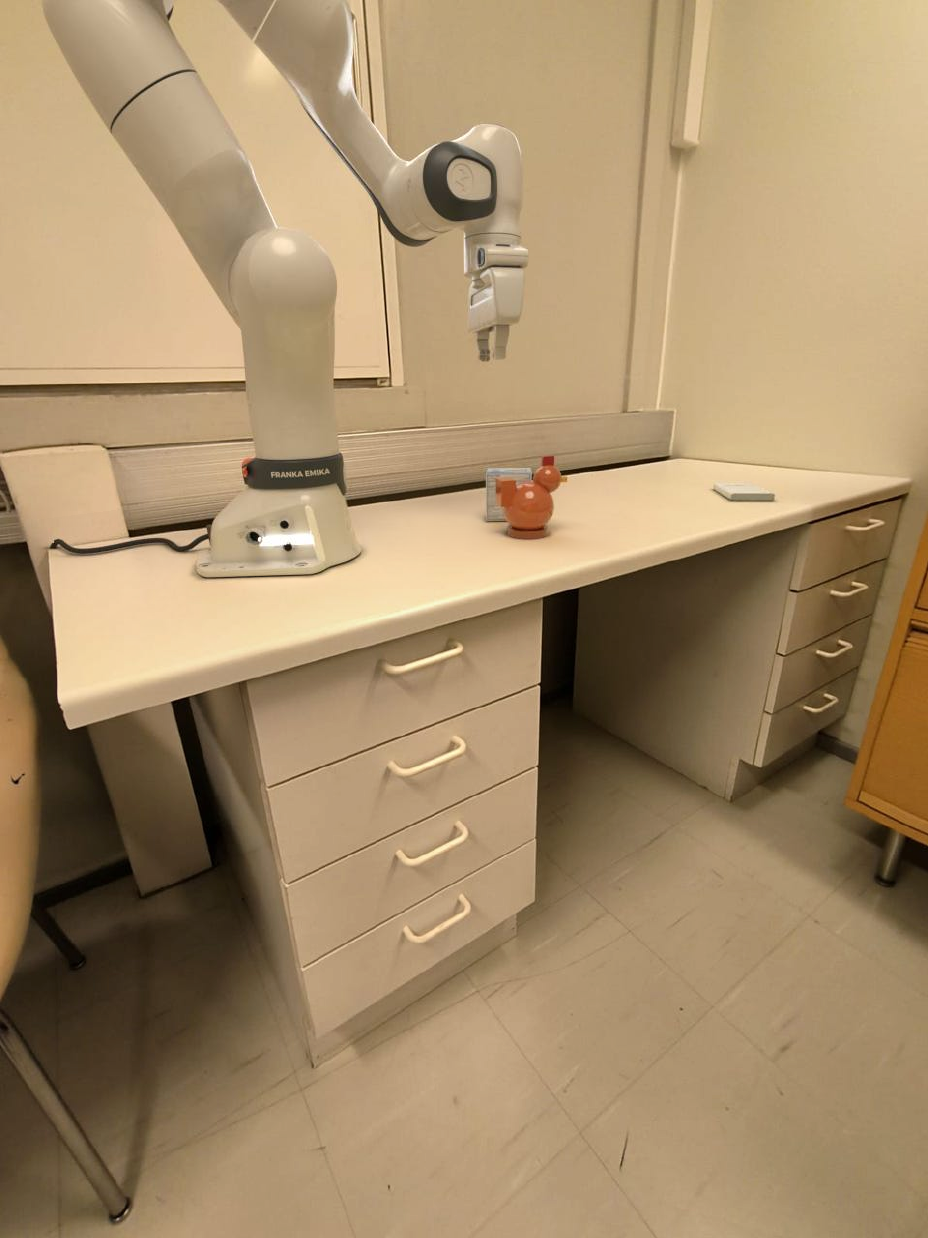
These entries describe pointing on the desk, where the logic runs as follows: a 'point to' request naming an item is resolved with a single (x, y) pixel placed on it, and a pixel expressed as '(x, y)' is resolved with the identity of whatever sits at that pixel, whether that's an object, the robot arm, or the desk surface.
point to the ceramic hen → (529, 500)
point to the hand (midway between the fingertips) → (491, 360)
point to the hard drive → (743, 492)
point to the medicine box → (492, 508)
